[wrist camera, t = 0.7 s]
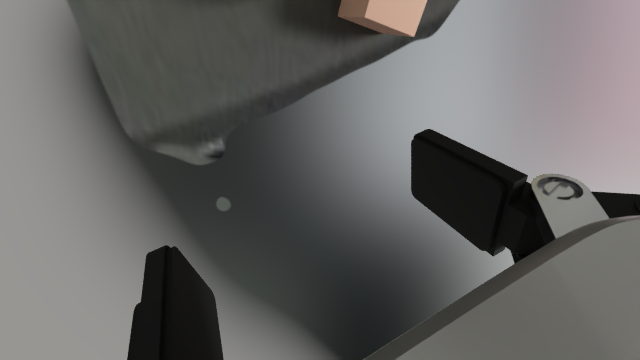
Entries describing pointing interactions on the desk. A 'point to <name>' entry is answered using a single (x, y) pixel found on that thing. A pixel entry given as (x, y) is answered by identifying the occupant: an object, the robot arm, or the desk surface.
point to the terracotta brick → (384, 15)
